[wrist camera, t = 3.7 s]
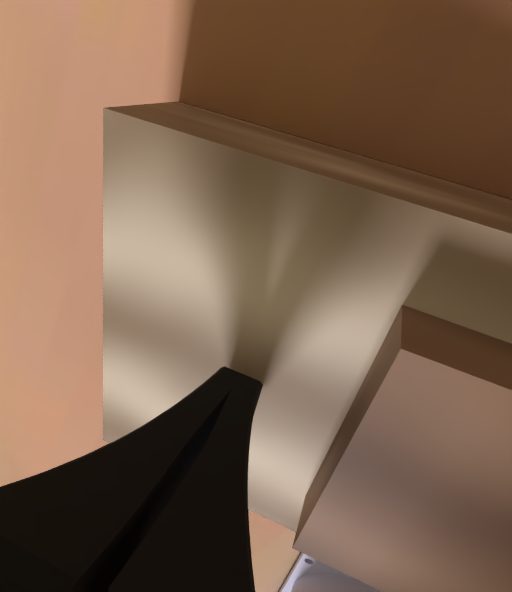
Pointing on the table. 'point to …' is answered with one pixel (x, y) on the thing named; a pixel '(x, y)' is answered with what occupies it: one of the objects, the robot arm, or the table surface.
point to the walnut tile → (421, 466)
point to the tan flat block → (276, 276)
